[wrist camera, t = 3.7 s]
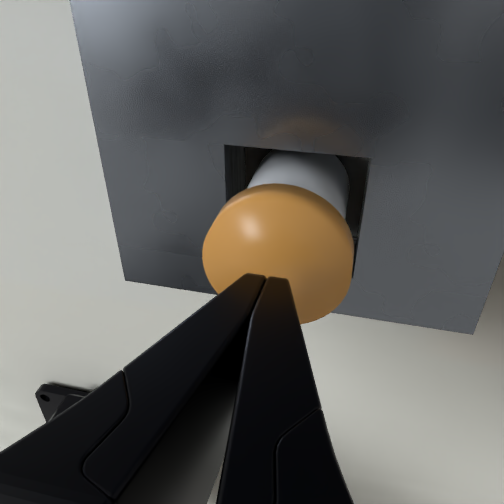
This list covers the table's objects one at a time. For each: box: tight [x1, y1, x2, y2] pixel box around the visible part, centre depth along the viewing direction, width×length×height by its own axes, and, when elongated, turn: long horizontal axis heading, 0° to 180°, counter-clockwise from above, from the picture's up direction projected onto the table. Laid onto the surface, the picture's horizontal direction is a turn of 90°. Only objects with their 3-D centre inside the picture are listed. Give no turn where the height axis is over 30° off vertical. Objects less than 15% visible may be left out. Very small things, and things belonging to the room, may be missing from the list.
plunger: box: [202, 149, 354, 324], centre depth 12 cm, size 3×3×4 cm
